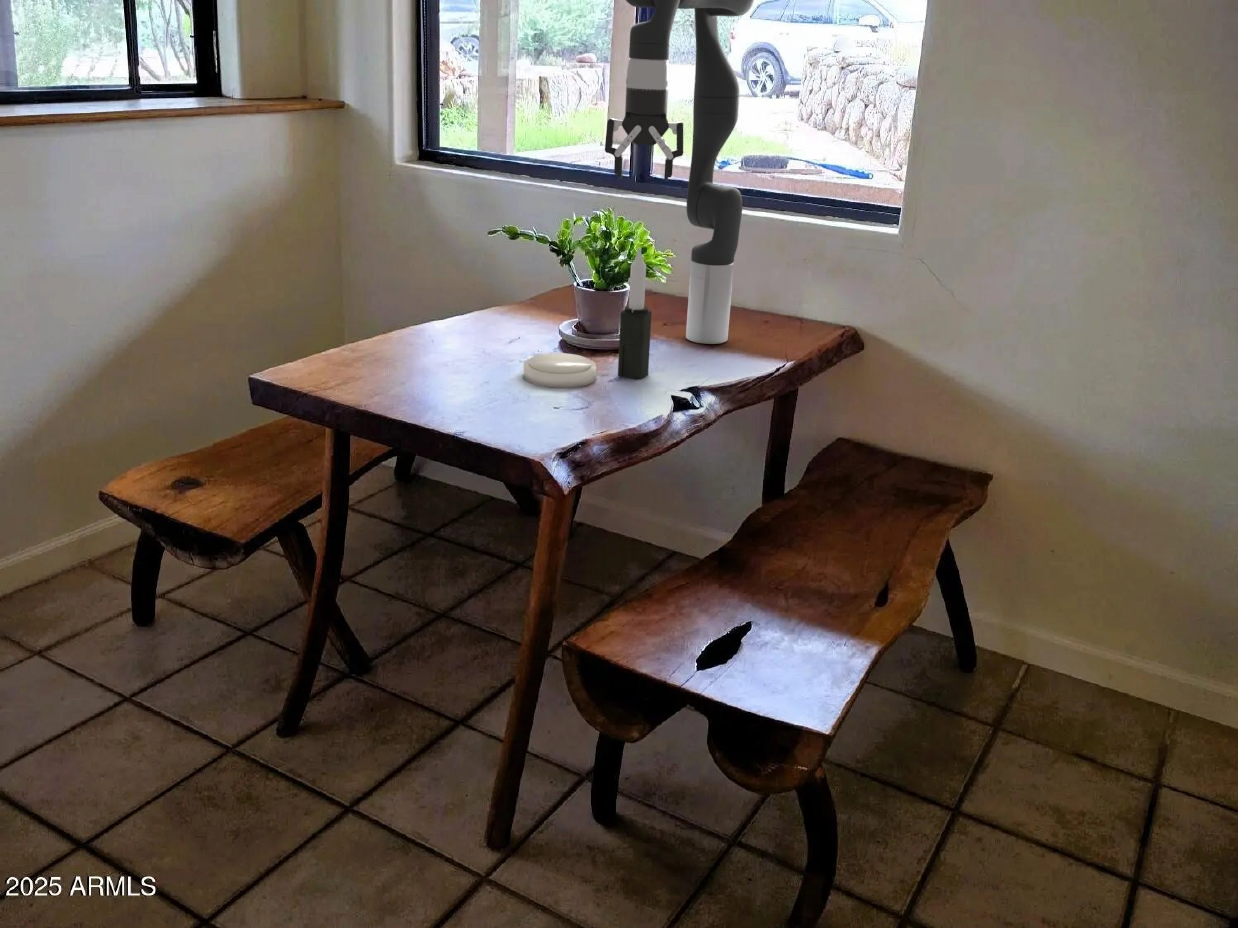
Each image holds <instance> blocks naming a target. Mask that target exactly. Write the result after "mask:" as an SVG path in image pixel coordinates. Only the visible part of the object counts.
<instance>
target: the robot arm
mask: <svg viewBox="0 0 1238 928" xmlns="http://www.w3.org/2000/svg"><path fill="white" fill-rule="evenodd" d="M625 1H626V2H627V3H628V4H629V5H630V6H631V7H635V8H643V9H646V8H647V9H654V12H653V13H652V16H651V18H650V19H649V20H647V21H642V22H637V23H635V24H633V25H632V27H631V28H630V32H629V46H628V47H629V49H628V50H629V51H628V64H627V69H626V79H625V85H626V88H625V108H624V118H623V119H616V118H613V117H610V118H608V120H607V122H606V123H607V124H606V134H605V145H604V152H605V153H607V154H610V155H611V156H613V158H614V167H613V168H614V170H613V172H614V173H613V174H614V175H615V176H617V179H622V178H623V161H624V160H623V159H624V156H623V153H624V152H625V151H626V149H627V148H628V147H629V146H630V145H631V143H633V144H634V145H637V146H640V145H642V146H643V145H646V146H655V145H656V144H657V145H658V147H659V149H660V151H662V153H663V154H664V156H665V157H666V158H665V160H664V162H665V163H664V175H663V176H664V179H663V180H664V181H669V178H672V175H673V168H674V167H673V166H674V164H673V163H674V160H675V159H676V158H679V157H682V156H683V155H684V122H683V121H681V120H679V121H677V122H675V121H674V122H671V121H670V122H669V121H668V117H667V114H668V100H669V98H668V97H669V85H670V81H669V80H670V70H669V69H670V68H669V56H670V38H671V33H672V29H673V26H674V21H675V19H676V15H677V12H678V10H690V9H694V27H695V28H694V29H695V31H694V32H695V33H694V34H695V69H694V71H695V74H694V89H693V108H692V109H693V110H692V111H693V121H692V122H693V123H692V125H693V126H692V145H691V146H692V147H691V159H690V169H689V177H688V183H687V193H686V217H687V219H688V221H689V223H690V224H691V225H692V226H695V227H698V228H703V229H710V230H713V232H712V238H711V240H709V241H708V242H704V243H700V244H696V245H694V246H693V247H692V250H691V255H690V270H689V283H688V285H689V287H688V299H687V300H688V302H687V316H686V331H685V339H686V340H688V341H691V342H693V343H697V344H706V345H707V344H708V345H710V344H711V345H715V344H718V345H719V344H723V343H725V342H727V341H728V337H729V328H730V314H731V304H732V303H731V301H732V292H733V291H732V290H733V280H734V278H733V276H734V264H735V263H734V262H735V255H736V252H737V249H738V245H739V237H740V230H741V229H740V228H741V221H742V215H743V198H742V194H741V191H740V190H739V189H738V188H736V187H733V186H729V185H721V184H716V183H714V171H715V164H716V161H717V158H718V156H719V154H720V152H721V151H722V149H723V147H724V145H725V144H726V142H727V141H728V139H729V137H730V136H731V135H732V133H733V131H734V129H735V127H736V125H737V122H738V118H739V104H740V84H739V81H738V78H737V76H736V74H735V71H734V68H732V65H731V63H730V62H729V61H730V60H728V58H727V55H726V53H725V51H724V49H723V47H722V45H721V40H720V36H719V28H718V27H719V26H718V17H729V18H730V17H734V18H735V17H740V16H743V15H745V14H747V13H748V12H749V11H750V10H751V8H752V6H753V4H754V0H625ZM620 127H622V128H623V130H624V132H625V133H626V135H627V136H625V138H624V140H623V141H622V142H621V143H620V144H619V146H618V147H615V146H613V145H614V135H615V134H614V133H615V132H617V131H618V130H619V128H620ZM669 129H671V132H672V134H673V135H676V149H674V150H671V148H670V146H669V145H668V143H667V142H666V140H665V138H664V135H666V133H667V132H668V130H669Z"/></svg>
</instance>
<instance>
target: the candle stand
mask: <svg viewBox="0 0 1238 928" xmlns="http://www.w3.org/2000/svg"><path fill="white" fill-rule="evenodd" d="M523 379H524V380H525V381H527V382H529V383H531V384H533V385H535V386H536V385H537V386H540V387H546V388H556V389H570V388H580V387H585V386H587V385H590V384H593V383H594V382H595V381H596V379H597V364H596V362H594V361H593V360H591V359H589V358H587V357H585V356H582V355H579V354H573V353H565V352H550V353H541V354H537V355H534V356H532V357H530V358H528V359H526V360H524V361H523Z"/></svg>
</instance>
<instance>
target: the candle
mask: <svg viewBox="0 0 1238 928" xmlns="http://www.w3.org/2000/svg"><path fill="white" fill-rule="evenodd" d="M636 250H637V252H636V255H635V257H634V260H633V261H632V262H631V264H630V274H629V275H630V276H629V296H628V305H626V306H625V305H624V309H622V310H621V311H620V317H619V319H620V321H619V337H618V338H619V339H618V342H619V343H618V361H617V362H618V363H617V364H618V365H617V376H618V377H619V378H627V379H632V380H643V379H644V378H646V377H647V376H648V375H649V367H650V366H649V363H650V346H651V345H650V344H651V332H652V331H651V330H652V327H651V326H652V314H653V313H652V312H653V311H652V310H651V309H649V307H647V306H645V295H646V278H647V277H646V275H647V264H646V263H645V262H644V259H643V255H642V247H640V246H639V247H638V248H637V249H636Z"/></svg>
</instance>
